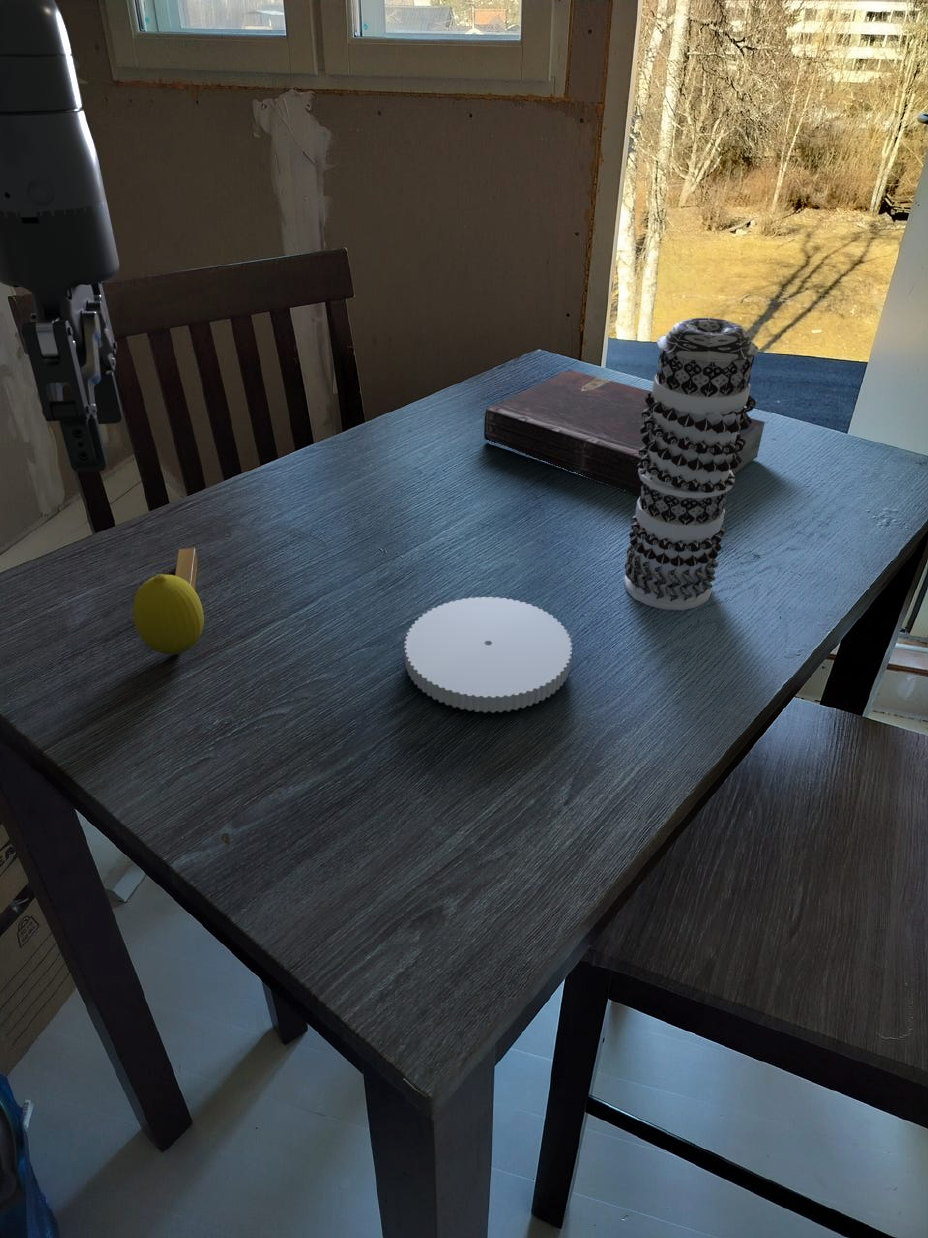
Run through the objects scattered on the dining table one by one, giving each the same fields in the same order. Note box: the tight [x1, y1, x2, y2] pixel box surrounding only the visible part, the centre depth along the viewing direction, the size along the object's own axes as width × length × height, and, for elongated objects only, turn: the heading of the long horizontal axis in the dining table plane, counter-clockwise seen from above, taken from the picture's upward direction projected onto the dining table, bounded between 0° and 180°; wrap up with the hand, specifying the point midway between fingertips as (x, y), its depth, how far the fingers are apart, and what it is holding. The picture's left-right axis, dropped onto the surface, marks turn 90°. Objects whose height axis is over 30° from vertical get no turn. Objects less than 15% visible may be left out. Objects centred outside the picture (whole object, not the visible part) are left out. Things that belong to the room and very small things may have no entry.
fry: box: [174, 547, 199, 591], centre depth 82 cm, size 2×9×2 cm, turn 11°
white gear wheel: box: [403, 596, 573, 713], centre depth 72 cm, size 14×14×2 cm
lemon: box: [132, 573, 205, 655], centre depth 72 cm, size 6×6×8 cm
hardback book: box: [483, 369, 766, 497], centre depth 107 cm, size 29×19×5 cm, turn 50°
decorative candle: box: [623, 317, 760, 611], centre depth 76 cm, size 9×9×25 cm
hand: (100, 444), depth 61 cm, fingers open, 8 cm apart
